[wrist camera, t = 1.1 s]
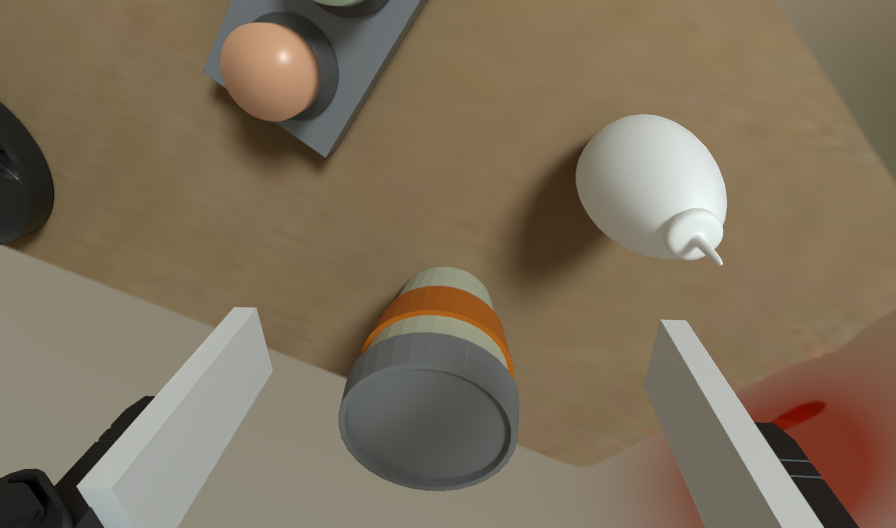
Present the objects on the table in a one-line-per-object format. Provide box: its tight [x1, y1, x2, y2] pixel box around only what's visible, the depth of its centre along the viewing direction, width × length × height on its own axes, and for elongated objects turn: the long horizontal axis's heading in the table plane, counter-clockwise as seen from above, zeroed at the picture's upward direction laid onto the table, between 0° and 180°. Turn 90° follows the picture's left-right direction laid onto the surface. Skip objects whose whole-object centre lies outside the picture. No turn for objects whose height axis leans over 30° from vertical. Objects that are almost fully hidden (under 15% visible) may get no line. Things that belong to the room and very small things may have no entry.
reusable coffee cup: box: [339, 267, 519, 491], centre depth 37 cm, size 13×13×15 cm
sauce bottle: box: [576, 114, 727, 265], centre depth 27 cm, size 8×8×18 cm
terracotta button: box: [220, 23, 321, 122], centre depth 28 cm, size 6×6×2 cm
